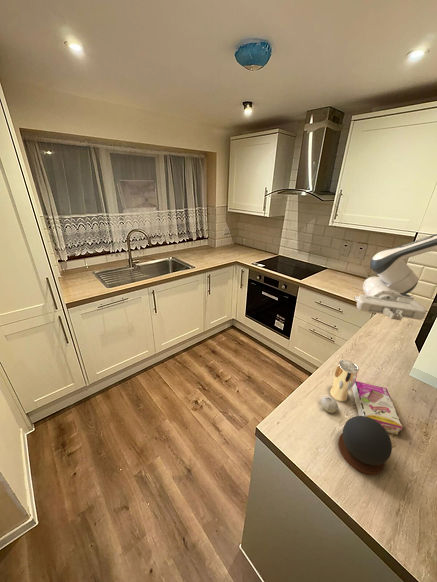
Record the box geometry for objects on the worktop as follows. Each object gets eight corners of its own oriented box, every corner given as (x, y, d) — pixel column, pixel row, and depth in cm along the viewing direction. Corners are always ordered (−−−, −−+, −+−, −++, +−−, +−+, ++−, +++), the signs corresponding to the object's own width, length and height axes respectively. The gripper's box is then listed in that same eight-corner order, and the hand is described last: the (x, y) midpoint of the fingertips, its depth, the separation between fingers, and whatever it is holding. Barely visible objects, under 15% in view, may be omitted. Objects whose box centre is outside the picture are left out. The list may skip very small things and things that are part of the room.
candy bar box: (387, 387, 88) (404, 427, 73) (382, 396, 90) (398, 437, 76) (354, 379, 90) (364, 416, 76) (350, 388, 93) (360, 426, 78)
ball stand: (375, 441, 74) (389, 413, 68) (388, 483, 64) (406, 454, 58) (334, 429, 77) (345, 402, 72) (340, 468, 67) (353, 439, 61)
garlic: (316, 408, 84) (319, 398, 82) (321, 399, 88) (324, 389, 86) (333, 419, 81) (337, 408, 78) (338, 408, 84) (342, 398, 82)
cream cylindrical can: (324, 394, 90) (334, 364, 83) (333, 385, 94) (343, 356, 87) (343, 407, 85) (354, 376, 78) (351, 397, 89) (363, 367, 83)
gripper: (355, 288, 90) (364, 304, 78) (417, 296, 84) (437, 315, 72) (350, 302, 92) (358, 320, 80) (411, 311, 87) (429, 332, 75)
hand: (396, 318), depth 76 cm, fingers closed
